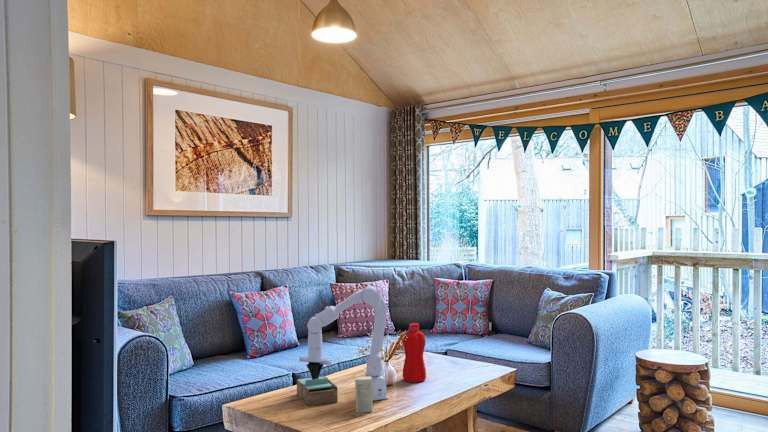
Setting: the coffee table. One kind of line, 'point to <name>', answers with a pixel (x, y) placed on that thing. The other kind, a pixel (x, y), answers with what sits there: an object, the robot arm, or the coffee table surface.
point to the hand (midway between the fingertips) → (315, 381)
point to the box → (317, 394)
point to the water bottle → (414, 354)
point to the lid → (315, 383)
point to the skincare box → (363, 394)
